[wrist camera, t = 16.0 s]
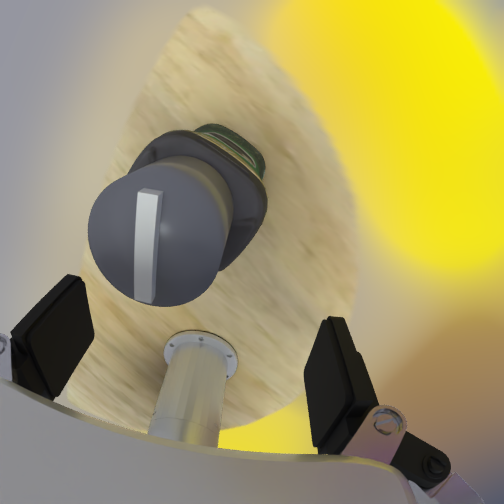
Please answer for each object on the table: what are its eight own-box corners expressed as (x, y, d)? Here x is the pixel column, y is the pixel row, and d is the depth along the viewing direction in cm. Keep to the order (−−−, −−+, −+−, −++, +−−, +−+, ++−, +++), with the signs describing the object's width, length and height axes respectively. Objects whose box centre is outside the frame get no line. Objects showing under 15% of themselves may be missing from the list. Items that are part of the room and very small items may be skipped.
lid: (137, 148, 14) (81, 167, 9) (243, 166, 15) (233, 193, 10) (129, 245, 17) (86, 295, 12) (223, 266, 17) (208, 327, 12)
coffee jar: (171, 168, 33) (89, 221, 16) (208, 113, 30) (147, 108, 13) (236, 213, 35) (212, 304, 18) (276, 162, 32) (293, 210, 15)
